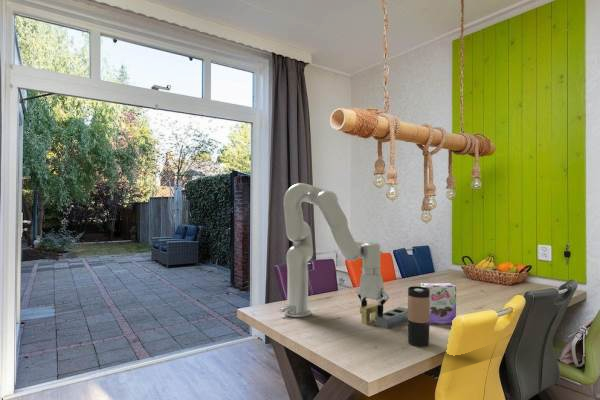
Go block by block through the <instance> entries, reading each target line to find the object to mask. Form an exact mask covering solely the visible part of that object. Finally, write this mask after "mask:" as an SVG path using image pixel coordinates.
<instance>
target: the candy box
mask: <svg viewBox="0 0 600 400" xmlns="http://www.w3.org/2000/svg"><path fill="white" fill-rule="evenodd" d="M419 285H420V286H419V287H425V288H428V289H429V290H430V325H453V324H452V320H453V319H454V318H455V317H456V318H457V286H456V285H455V284H453V283H450V282H447V283H446V282H444V283H443V282H441V283H439V282H437V283H434V282H433V283H427V282H426V283H424V282H420V284H419Z"/></svg>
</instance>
